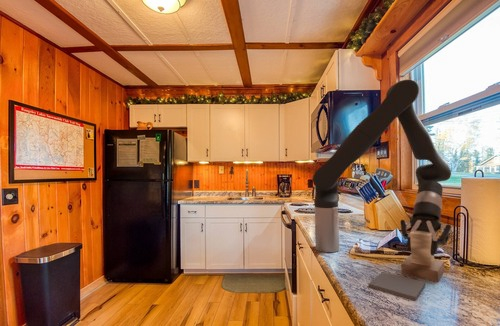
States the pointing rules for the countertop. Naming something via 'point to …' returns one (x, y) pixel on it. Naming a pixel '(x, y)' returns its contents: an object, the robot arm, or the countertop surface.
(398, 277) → the slate mat
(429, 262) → the maple block
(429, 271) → the walnut ledge
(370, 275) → the countertop surface
